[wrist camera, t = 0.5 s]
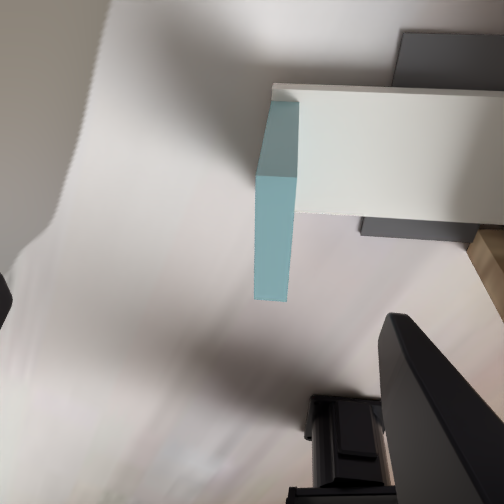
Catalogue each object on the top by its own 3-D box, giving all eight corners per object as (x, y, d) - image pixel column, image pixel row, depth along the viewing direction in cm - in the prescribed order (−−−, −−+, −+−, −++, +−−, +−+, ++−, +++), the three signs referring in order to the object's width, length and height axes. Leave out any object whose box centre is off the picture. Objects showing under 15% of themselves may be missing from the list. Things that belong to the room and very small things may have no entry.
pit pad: (471, 240, 22) (472, 242, 22) (360, 233, 22) (360, 235, 22) (558, 36, 16) (561, 37, 16) (403, 32, 16) (404, 33, 16)
